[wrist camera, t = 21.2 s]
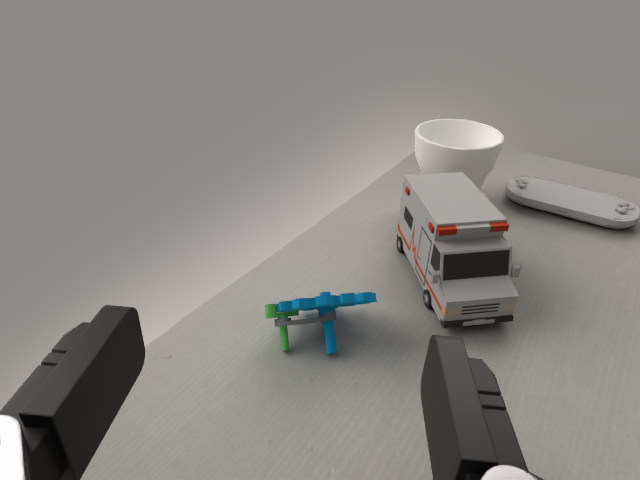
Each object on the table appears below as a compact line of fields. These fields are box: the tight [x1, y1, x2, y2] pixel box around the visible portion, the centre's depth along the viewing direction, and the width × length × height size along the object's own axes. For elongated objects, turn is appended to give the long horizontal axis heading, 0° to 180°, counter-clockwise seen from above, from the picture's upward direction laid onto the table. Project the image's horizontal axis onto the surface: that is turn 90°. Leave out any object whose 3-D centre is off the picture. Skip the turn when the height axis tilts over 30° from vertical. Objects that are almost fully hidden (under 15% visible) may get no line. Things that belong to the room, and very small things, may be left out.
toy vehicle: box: [397, 172, 521, 328], centre depth 51 cm, size 10×17×10 cm, turn 8°
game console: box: [506, 176, 640, 229], centre depth 67 cm, size 18×2×8 cm
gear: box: [265, 292, 377, 354], centre depth 44 cm, size 11×6×10 cm
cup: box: [415, 119, 504, 190], centre depth 67 cm, size 12×12×11 cm
